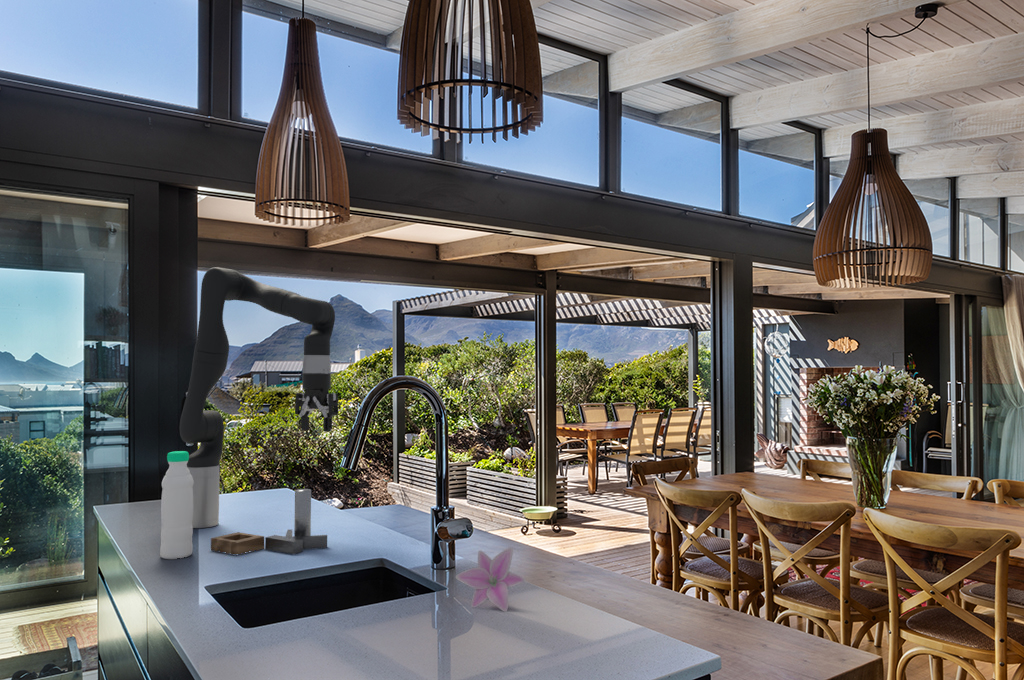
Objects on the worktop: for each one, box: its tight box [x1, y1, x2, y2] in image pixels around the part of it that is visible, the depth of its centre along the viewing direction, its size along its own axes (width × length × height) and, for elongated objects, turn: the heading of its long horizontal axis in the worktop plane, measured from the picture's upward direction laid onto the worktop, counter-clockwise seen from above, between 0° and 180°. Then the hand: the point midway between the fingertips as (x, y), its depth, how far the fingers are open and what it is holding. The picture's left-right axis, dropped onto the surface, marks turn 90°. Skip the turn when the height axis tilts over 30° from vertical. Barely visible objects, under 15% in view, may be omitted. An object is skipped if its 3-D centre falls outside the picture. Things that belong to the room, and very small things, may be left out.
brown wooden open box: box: [210, 531, 265, 555], centre depth 181 cm, size 10×8×3 cm
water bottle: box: [159, 450, 194, 560], centre depth 175 cm, size 7×7×25 cm
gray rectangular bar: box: [293, 488, 312, 537], centre depth 185 cm, size 4×4×14 cm
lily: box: [455, 546, 526, 612], centre depth 138 cm, size 12×12×10 cm
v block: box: [264, 529, 328, 555], centre depth 182 cm, size 14×10×3 cm
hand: (316, 431), depth 199 cm, fingers open, 8 cm apart
